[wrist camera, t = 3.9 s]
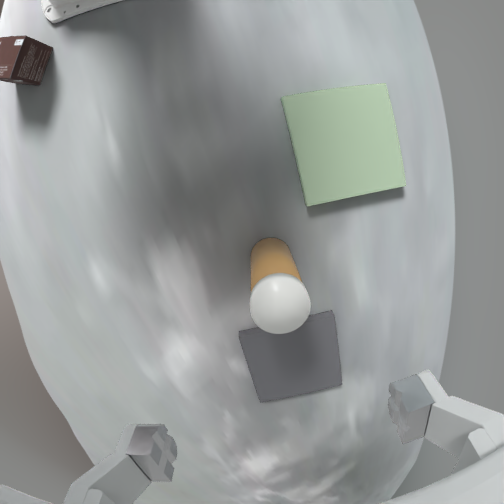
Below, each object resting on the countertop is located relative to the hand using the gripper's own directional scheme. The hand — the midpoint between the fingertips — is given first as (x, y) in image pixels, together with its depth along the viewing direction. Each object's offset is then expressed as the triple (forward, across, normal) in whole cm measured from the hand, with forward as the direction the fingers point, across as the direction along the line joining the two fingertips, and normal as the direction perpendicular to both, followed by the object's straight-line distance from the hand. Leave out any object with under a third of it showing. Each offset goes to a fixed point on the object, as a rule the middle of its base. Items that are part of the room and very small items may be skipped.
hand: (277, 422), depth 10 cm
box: (+29, +26, -32) cm, 50 cm away
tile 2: (+30, -12, -8) cm, 33 cm away
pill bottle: (+30, -1, +4) cm, 30 cm away
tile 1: (+30, -1, +20) cm, 36 cm away
